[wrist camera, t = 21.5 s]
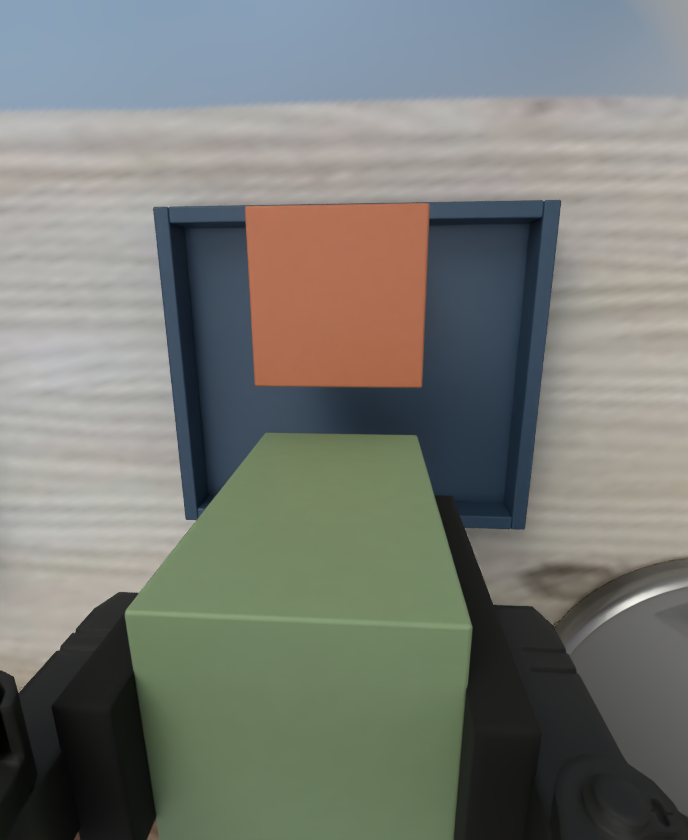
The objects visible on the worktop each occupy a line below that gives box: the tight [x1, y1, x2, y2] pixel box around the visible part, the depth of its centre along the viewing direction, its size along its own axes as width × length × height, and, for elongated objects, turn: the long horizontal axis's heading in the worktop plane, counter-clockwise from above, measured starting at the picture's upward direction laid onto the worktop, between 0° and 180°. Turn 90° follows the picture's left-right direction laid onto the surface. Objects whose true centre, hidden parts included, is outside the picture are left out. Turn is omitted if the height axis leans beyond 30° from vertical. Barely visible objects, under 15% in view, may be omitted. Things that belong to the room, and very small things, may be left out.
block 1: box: [245, 203, 430, 388], centre depth 15 cm, size 4×4×8 cm
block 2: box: [125, 433, 473, 840], centre depth 10 cm, size 4×4×8 cm
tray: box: [153, 200, 561, 530], centre depth 20 cm, size 15×13×2 cm
